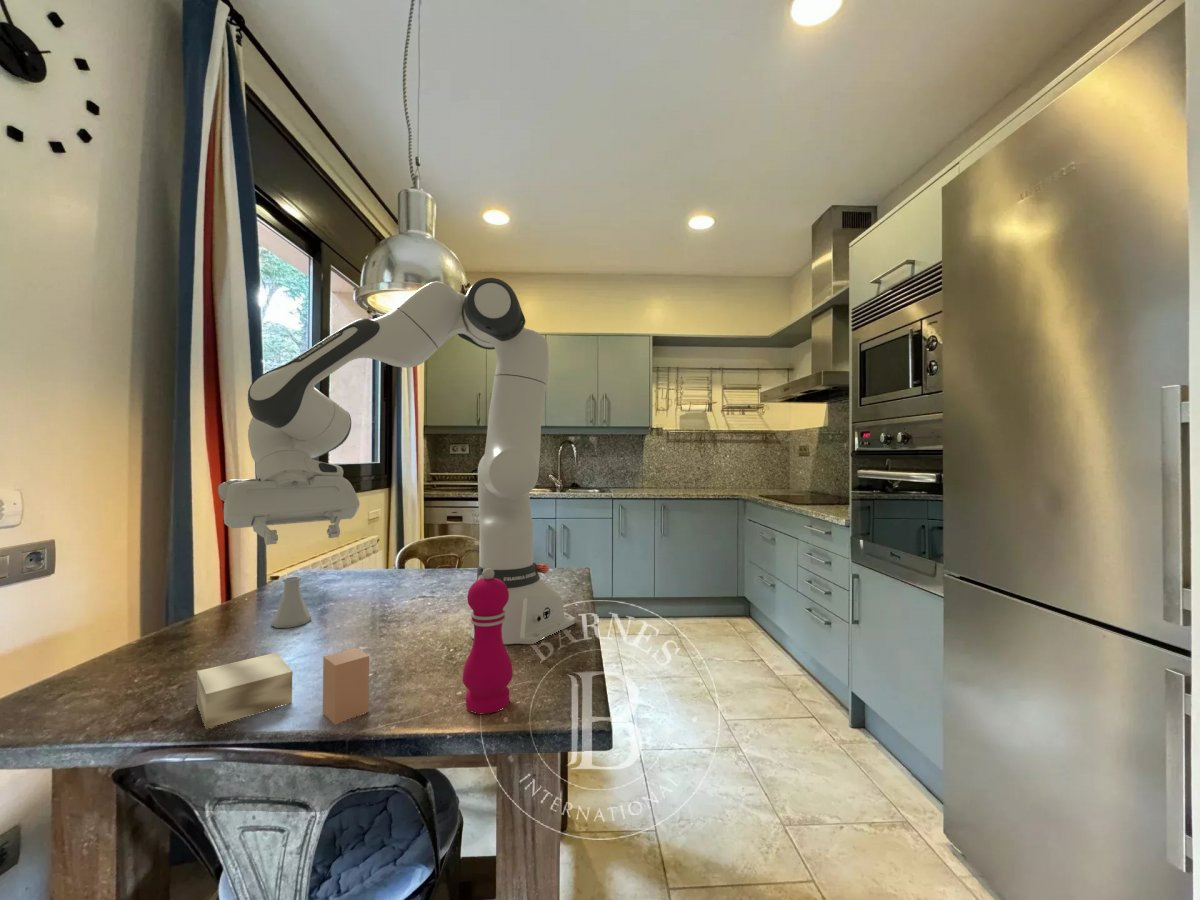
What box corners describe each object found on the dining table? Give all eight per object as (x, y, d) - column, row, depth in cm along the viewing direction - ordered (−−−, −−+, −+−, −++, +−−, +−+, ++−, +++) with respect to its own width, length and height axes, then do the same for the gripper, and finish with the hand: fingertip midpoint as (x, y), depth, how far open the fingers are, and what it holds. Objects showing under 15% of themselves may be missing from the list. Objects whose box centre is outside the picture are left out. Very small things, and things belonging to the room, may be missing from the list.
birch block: (276, 683, 79) (276, 652, 79) (291, 705, 72) (292, 671, 72) (196, 705, 72) (197, 671, 72) (205, 731, 65) (206, 694, 65)
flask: (292, 630, 103) (292, 582, 103) (263, 628, 105) (264, 581, 105) (318, 619, 110) (318, 575, 111) (291, 617, 112) (291, 573, 112)
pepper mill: (467, 693, 75) (468, 563, 76) (515, 691, 76) (515, 562, 76) (457, 717, 68) (458, 573, 69) (509, 715, 69) (510, 573, 69)
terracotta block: (355, 701, 73) (356, 647, 73) (368, 712, 70) (369, 655, 70) (322, 713, 69) (323, 656, 70) (334, 724, 66) (335, 665, 67)
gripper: (219, 467, 80) (232, 533, 73) (350, 466, 95) (371, 521, 88) (212, 493, 83) (224, 559, 76) (341, 488, 98) (360, 543, 91)
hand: (304, 538), depth 82 cm, fingers open, 8 cm apart
